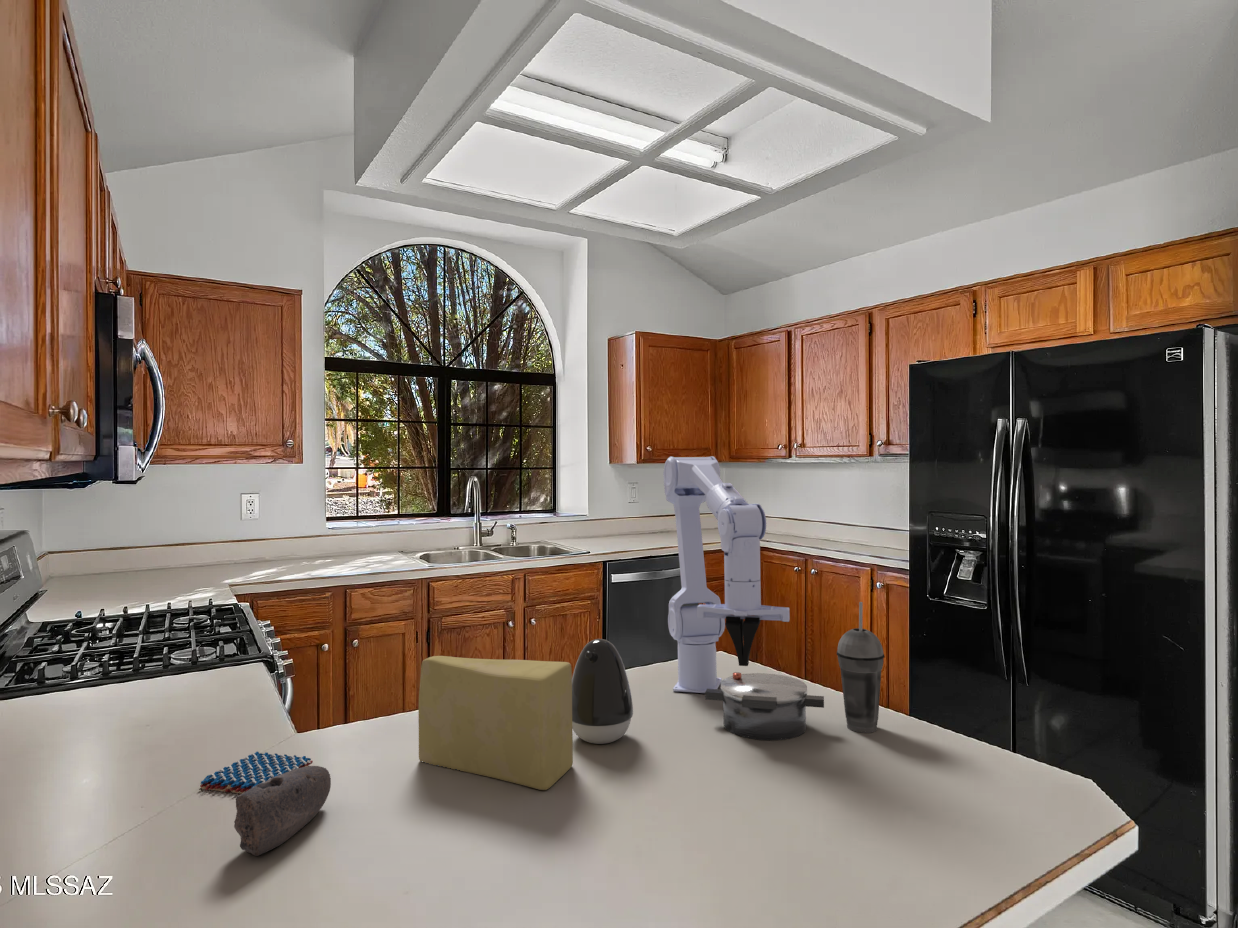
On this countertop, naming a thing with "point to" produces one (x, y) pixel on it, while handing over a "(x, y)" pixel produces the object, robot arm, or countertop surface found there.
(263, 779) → the woven mat
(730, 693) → the cooker lid
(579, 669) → the black white egg shape
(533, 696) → the cheese
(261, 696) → the countertop surface
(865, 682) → the beverage cup
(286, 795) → the perforated stone tool
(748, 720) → the cooker pot
